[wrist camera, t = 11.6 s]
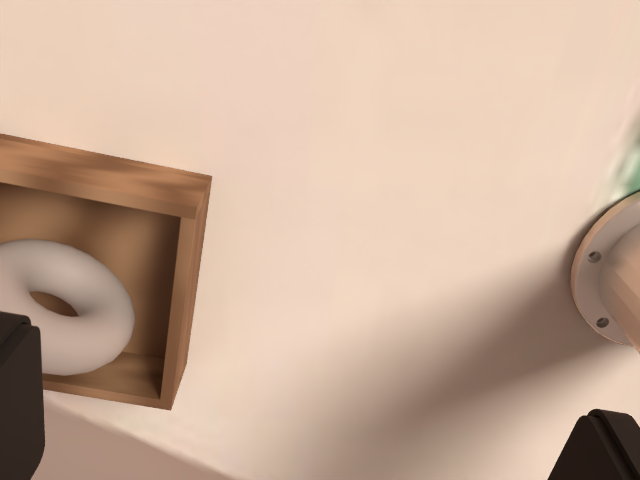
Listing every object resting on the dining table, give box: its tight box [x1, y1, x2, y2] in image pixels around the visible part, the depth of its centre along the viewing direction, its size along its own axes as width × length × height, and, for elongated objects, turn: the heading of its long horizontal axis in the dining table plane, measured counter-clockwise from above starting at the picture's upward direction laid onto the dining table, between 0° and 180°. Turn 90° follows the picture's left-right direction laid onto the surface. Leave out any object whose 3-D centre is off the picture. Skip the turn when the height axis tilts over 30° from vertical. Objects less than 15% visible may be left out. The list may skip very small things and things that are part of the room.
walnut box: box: [0, 134, 212, 410], centre depth 38 cm, size 16×16×5 cm
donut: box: [0, 239, 135, 376], centre depth 35 cm, size 10×4×10 cm, turn 54°
